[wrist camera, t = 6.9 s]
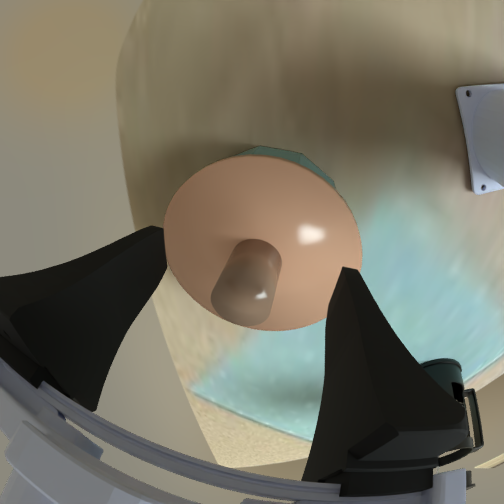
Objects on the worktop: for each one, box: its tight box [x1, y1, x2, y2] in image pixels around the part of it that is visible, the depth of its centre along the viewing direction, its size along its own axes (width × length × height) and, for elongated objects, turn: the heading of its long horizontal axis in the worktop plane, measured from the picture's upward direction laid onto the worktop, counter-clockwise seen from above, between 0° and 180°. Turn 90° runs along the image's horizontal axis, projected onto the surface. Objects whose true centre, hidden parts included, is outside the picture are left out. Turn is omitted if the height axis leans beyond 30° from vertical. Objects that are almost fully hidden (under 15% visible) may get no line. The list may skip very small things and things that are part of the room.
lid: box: [163, 154, 362, 331], centre depth 16 cm, size 13×13×5 cm
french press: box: [421, 359, 484, 490], centre depth 18 cm, size 12×9×23 cm
